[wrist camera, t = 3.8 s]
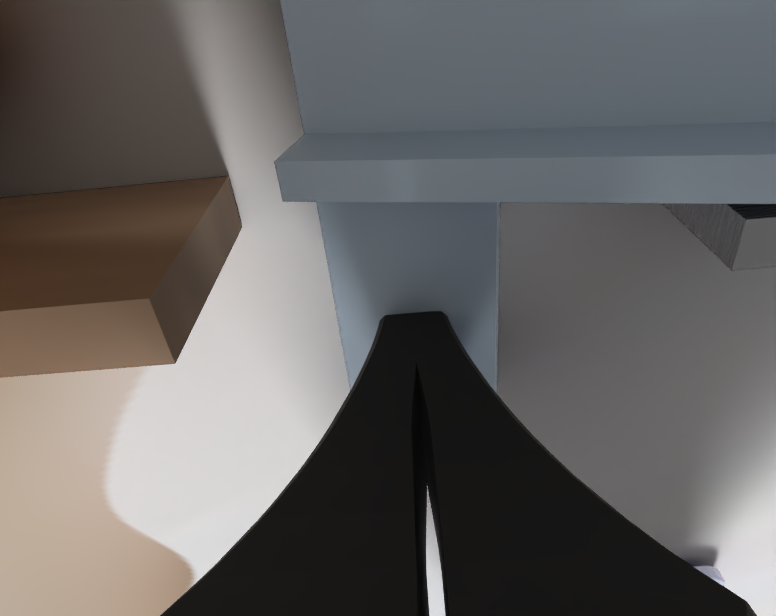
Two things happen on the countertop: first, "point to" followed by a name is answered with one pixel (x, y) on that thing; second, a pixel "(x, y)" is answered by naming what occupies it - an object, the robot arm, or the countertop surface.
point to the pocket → (109, 273)
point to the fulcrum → (733, 231)
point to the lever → (510, 134)
